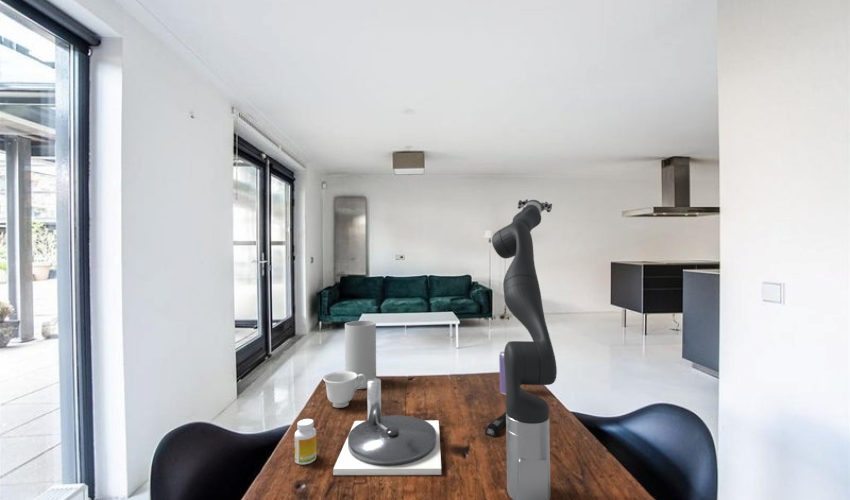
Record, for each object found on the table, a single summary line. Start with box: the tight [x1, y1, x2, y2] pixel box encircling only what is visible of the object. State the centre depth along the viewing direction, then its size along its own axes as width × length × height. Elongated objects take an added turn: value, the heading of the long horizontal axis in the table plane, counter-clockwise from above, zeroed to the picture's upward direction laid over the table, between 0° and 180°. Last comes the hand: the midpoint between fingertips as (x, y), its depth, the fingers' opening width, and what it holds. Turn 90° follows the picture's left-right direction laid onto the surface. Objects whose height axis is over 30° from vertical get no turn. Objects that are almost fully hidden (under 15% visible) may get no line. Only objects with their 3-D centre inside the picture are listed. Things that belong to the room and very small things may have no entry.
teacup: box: [322, 370, 366, 409], centre depth 133 cm, size 12×15×10 cm
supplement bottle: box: [294, 418, 317, 466], centre depth 97 cm, size 5×5×10 cm
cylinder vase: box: [344, 320, 377, 390], centre depth 153 cm, size 12×12×25 cm
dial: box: [347, 377, 436, 466], centre depth 103 cm, size 24×24×14 cm
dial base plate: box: [332, 419, 442, 476], centre depth 103 cm, size 26×26×2 cm
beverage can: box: [498, 350, 506, 396], centre depth 142 cm, size 6×6×15 cm
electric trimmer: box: [484, 411, 506, 438], centre depth 115 cm, size 4×16×3 cm, turn 145°
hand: (536, 202), depth 170 cm, fingers open, 8 cm apart
